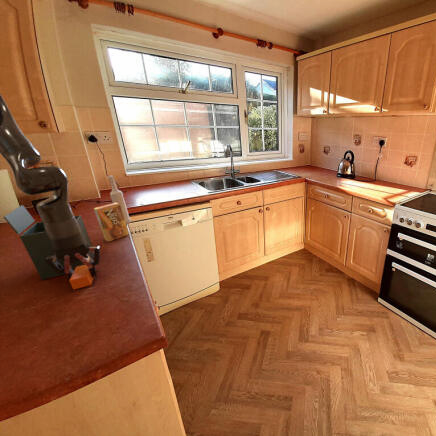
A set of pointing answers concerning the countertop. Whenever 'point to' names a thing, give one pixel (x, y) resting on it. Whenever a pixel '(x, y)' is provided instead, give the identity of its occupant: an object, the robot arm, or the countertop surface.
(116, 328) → the countertop surface
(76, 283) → the orange rectangular block
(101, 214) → the candy box
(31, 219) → the flap
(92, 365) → the countertop surface
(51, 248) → the dark green open box
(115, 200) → the bottle
